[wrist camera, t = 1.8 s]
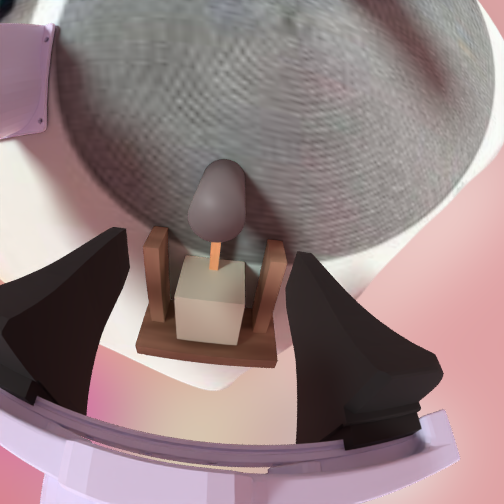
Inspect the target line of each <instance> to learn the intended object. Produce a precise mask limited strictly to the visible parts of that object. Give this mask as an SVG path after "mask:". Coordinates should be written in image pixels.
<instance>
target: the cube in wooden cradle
mask: <svg viewBox="0 0 504 504" xmlns="http://www.w3.org/2000/svg"><path fill="white" fill-rule="evenodd" d="M143 254H144V265H145V274H146V283H147V291H148V299H149V304H148V307H147V310H146V313H145V316H144V319H143V322H142V325H141V328H140V332H139V335H138V338H137V341H136V345H135V346H136V349H137V353H140V354H145V355H151V356H157V357H163V358H169V359H176V360H183V361H191V362H199V363H208V364H218V365H229V366H243V367H261V368H263V367H264V368H275V366H276V363H277V351H276V342H275V333H274V323H273V314H272V313H273V310H274V306H275V303H276V300H277V296H278V293H279V290H280V287H281V283H282V280H283V276H284V273H285V270H286V266H287V260H286V255H285V251H284V246H283V242H282V241H279V240H271V239H268V240H267V245H266V249H265V254H264V258H263V263H262V267H261V271H260V276H259V280H258V285H257V289H256V293H255V298H254V302H253V306H252V309H251V308H244V312H243V317H242V322H241V327H240V332H239V337H238V342H237V345H226V344H216V343H207V342H198V341H190V340H182V339H177V333H176V318H175V301H174V300H171V299H170V282H169V253H168V228H167V227H158V226H154V227H153V229H152V231H151V232H150V234H149V236H148V238H147V240H146V242H145V244H144V246H143Z"/></svg>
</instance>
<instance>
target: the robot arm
mask: <svg viewBox="0 0 504 504" xmlns="http://www.w3.org/2000/svg"><path fill="white" fill-rule="evenodd" d="M54 32H55V24H53V23H50V24H47V25H45V26H44V25H33V24H17V23H0V139H4V138H9V137H15V136H21V135H27V134H34V133H41V132H43V131H45V130H46V128H47V92H48V77H49V66H50V58H51V50H52V44H53V38H54ZM48 38H49V40H48V42H47V39H48ZM41 118H42V122H41ZM129 269H130V264H129V255H128V246H127V235H126V229H125V228H117V227H112V228H110V229H108V230H107V231H105V232H103V233H101V234H100V235H98V236H97V237H95V238H93V239H92V240H90V241H89V242H87V243H85V244H84V245H82V246H81V247H79V248H77V249H76V250H74V251H72V252H71V253H69V254H67V255H66V256H64V257H62V258H61V259H59V260H57V261H55V262H54V263H52V264H50V265H48V266H46V267H44V268H42V269H40V270H38V271H36V272H33V273H31V274H29V275H26V276H24V277H22V278H19V279H17V280H14V281H11V282H8V283H5V284H2V285H0V445H1V446H2V447H4V448H5V449H7V450H8V451H10V452H11V453H12V454H14V455H16V456H17V457H19V458H20V459H22V460H23V461H25V462H26V463H28V464H30V465H31V466H33V467H35V468H36V469H38V470H40V471H42V472H43V473H45V475H44V480H43V486H42V493H41V499H40V504H360V503H363V502H367V501H370V500H373V499H376V498H379V497H382V496H384V495H387V494H390V493H392V492H395V491H397V490H400V489H402V488H405V487H407V486H409V485H412V484H414V483H416V482H418V481H420V480H423V479H425V478H427V477H429V476H431V475H433V474H435V473H437V472H439V471H441V470H443V469H444V468H446V467H448V466H450V465H452V464H454V463H456V462H457V461H459V460H460V456H459V452H458V449H457V445H456V442H455V439H454V436H453V432H452V429H451V426H450V423H449V420H448V417H447V414H446V411H445V410H444V409H442V410H439V411H436V412H433V413H430V414H427V415H424V416H423V417H420V418H418V415H417V412H418V411H420V409H421V407H420V404H419V401H420V400H421V399H422V398H424V397H425V396H426V395H427V394H428V393H429V392H431V391H432V390H433V389H434V388H435V387H436V386H437V385H438V384H439V382H440V381H441V380H442V377H443V374H444V373H443V371H442V368H441V366H440V364H439V361H438V359H437V357H436V355H435V354H433V353H432V352H430V351H428V350H425V349H424V348H422V347H420V346H417V345H416V344H414V343H412V342H410V341H409V340H407V339H405V338H404V337H402V336H400V335H399V334H397V333H396V332H394V331H393V330H391V329H390V328H389V327H387V326H386V325H384V324H383V323H382V322H380V321H379V320H378V319H376V318H375V317H374V316H373V315H371V314H370V313H369V312H368V311H367V310H366V309H364V308H363V307H362V306H361V305H360V304H359V303H357V301H356V300H355V299H354V298H353V297H352V296H351V295H350V294H349V293H348V292H346V290H345V289H344V288H343V287H342V286H341V285H340V284H339V283H338V282H337V281H336V280H335V279H334V278H333V276H332V275H331V274H330V273H329V272H328V271H327V270H326V269H325V267H324V266H323V265H322V264H321V263H320V262H319V261H318V260H317V259H316V257H315V256H314V255H313V254H312V253H306V252H298V251H297V255H296V258H295V261H294V264H293V267H292V270H291V273H290V276H289V279H288V282H287V285H286V308H287V314H288V320H289V325H290V330H291V336H292V341H293V346H294V352H295V359H296V374H297V432H296V433H297V434H296V444H291V445H238V444H221V443H210V442H209V443H208V442H200V441H192V440H185V439H178V438H172V437H165V436H161V435H155V434H150V433H146V432H141V431H137V430H132V429H129V428H125V427H120V426H117V425H114V424H110V423H107V422H104V421H100V420H97V419H94V418H91V417H88V416H86V414H87V413H86V412H87V401H88V393H89V386H90V380H91V375H92V369H93V365H94V361H95V356H96V352H97V349H98V345H99V342H100V338H101V335H102V332H103V330H104V327H105V325H106V323H107V321H108V318H109V316H110V314H111V312H112V310H113V308H114V305H115V303H116V301H117V299H118V297H119V295H120V293H121V291H122V289H123V286H124V284H125V281H126V278H127V275H128V272H129ZM81 436H82V437H81ZM83 437H84V438H83ZM85 438H87V439H85ZM88 439H90V440H93V441H96V442H99V443H102V444H105V445H108V446H112V447H115V448H119V449H122V450H126V451H130V452H134V453H138V454H143V455H147V456H151V457H156V458H161V459H167V460H173V461H179V462H186V463H194V464H203V465H213V466H228V467H270V468H269V469H268V473H266V474H257V473H256V474H255V473H243V472H237V471H231V470H221V469H211V468H202V467H194V466H186V465H179V464H173V463H167V462H161V461H156V460H151V459H146V458H142V457H137V456H134V455H130V454H126V453H122V452H119V451H115V450H112V449H108V448H105V447H102V446H99V445H96V444H93V443H92V442H91V441H90V440H88Z"/></svg>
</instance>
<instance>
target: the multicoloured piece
mask: <svg viewBox="0 0 504 504" xmlns="http://www.w3.org/2000/svg"><path fill="white" fill-rule="evenodd" d="M245 219H246V211H245V174H244V172H243V170H242V168H241V167H240V166H239V165H238V164H237V163H235V162H234V161H231V160H227V159H220V160H217V161H214V162H212V163H211V164H210V165H209V166H208V167H207V168H206V169H205V172H204V174H203V176H202V178H201V181H200V183H199V185H198V188H197V190H196V192H195V195H194V197H193V200H192V202H191V205H190V207H189V210H188V222H189V225H190V227H191V229H192V230H193V231H194V233H195V234H196V235H197V236H199V237H200V238H202V239H204V240H206V241H209V242H211V252H210V258H206V257H197V256H189V255H186V256H185V259H184V263H183V266H182V270H181V274H180V277H179V281H178V284H177V288H176V292H175V296H174V301H175V318H176V333H177V339H182V340H190V341H198V342H207V343H216V344H226V345H237V342H238V337H239V332H240V327H241V322H242V317H243V312H244V307H245V262H241V261H232V260H223V259H219V256H220V247H221V242H226V241H229V240H231V239H233V238H235V237H236V236H237V235H238V234H239V233H240V232H241V231H242V229H243V227H244V225H245Z"/></svg>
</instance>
